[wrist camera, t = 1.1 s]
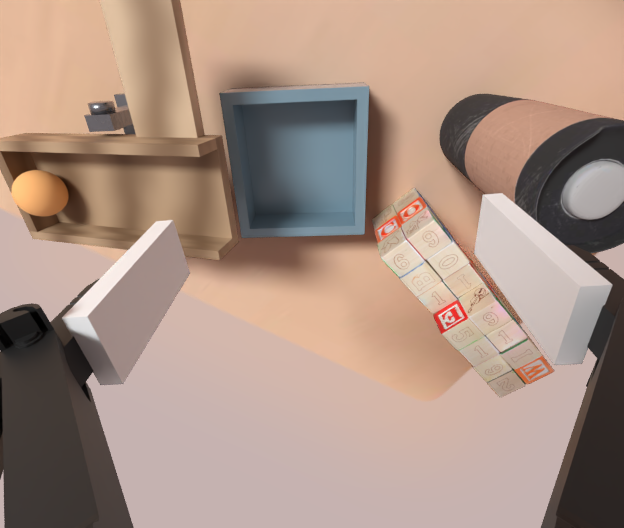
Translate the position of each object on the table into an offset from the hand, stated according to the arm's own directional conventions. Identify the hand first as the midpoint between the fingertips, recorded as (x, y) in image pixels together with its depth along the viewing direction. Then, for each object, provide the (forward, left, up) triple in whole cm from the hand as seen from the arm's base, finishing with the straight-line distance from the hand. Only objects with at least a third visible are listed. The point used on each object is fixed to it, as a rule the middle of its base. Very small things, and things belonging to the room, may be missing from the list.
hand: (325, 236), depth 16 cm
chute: (-3, -17, -20) cm, 26 cm away
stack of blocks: (+16, +14, -26) cm, 34 cm away
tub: (+3, -3, -25) cm, 26 cm away
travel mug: (+1, +15, -26) cm, 30 cm away
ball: (+3, -25, -16) cm, 30 cm away
